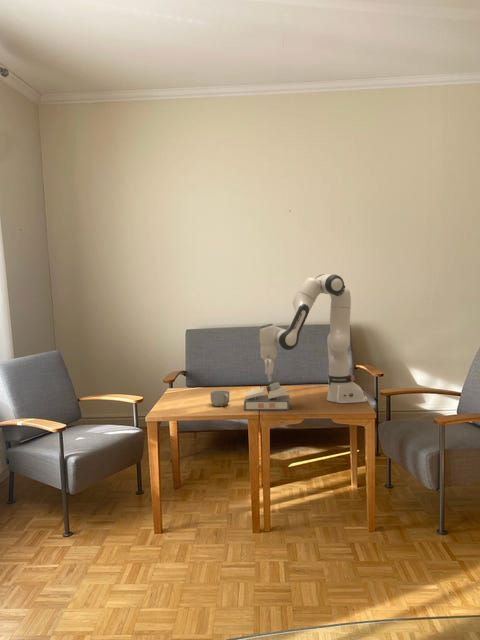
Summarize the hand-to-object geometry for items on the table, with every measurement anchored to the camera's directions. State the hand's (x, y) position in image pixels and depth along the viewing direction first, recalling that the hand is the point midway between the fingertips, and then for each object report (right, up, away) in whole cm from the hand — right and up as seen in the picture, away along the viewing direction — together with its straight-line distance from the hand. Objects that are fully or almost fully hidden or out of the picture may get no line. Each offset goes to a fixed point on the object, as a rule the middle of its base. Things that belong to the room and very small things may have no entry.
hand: (270, 379), depth 299 cm
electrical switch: (+4, -14, +21) cm, 25 cm away
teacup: (-27, -16, +8) cm, 32 cm away
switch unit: (-1, -15, +1) cm, 15 cm away
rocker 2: (+4, -8, 0) cm, 9 cm away
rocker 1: (-8, -8, +1) cm, 11 cm away
